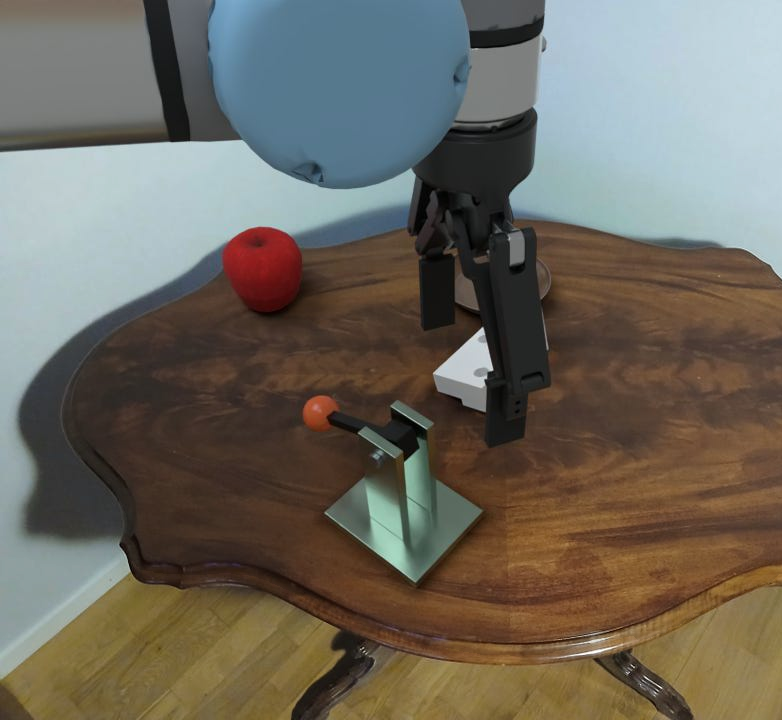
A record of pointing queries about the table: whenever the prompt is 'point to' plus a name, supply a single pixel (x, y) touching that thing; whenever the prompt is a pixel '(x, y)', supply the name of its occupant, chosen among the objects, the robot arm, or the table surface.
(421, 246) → the robot arm
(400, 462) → the clamp
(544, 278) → the saucer
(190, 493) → the table surface
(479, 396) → the bracket
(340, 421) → the clamp lever
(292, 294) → the apple
